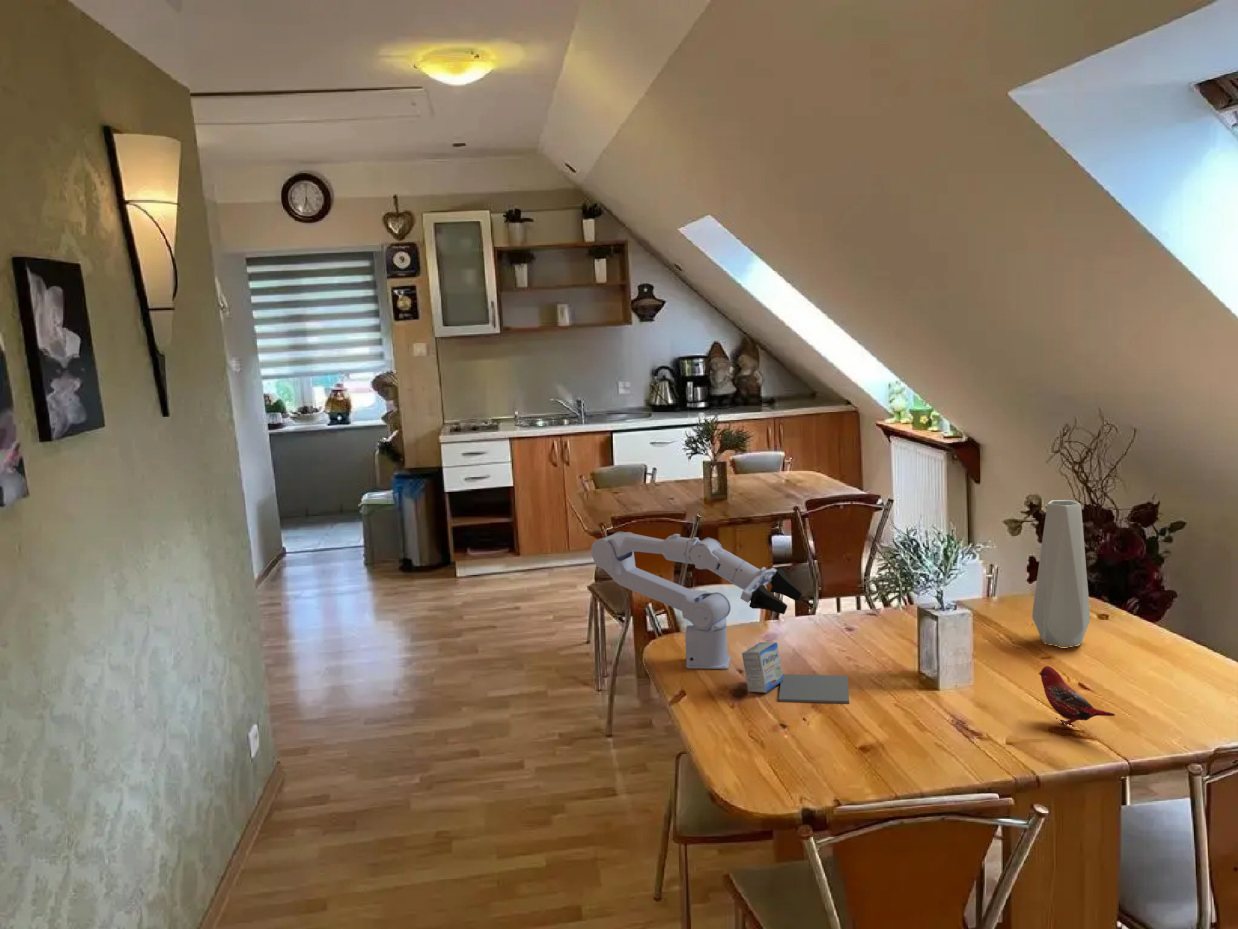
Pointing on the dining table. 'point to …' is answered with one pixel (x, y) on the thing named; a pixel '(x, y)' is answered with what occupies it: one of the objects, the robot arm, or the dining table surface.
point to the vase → (1062, 577)
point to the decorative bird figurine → (1067, 698)
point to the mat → (814, 688)
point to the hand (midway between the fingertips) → (793, 603)
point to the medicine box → (762, 667)
